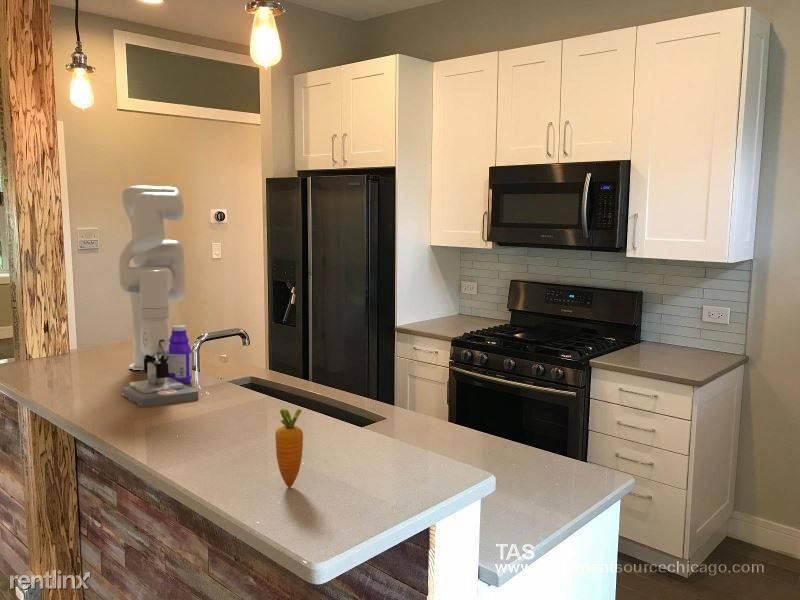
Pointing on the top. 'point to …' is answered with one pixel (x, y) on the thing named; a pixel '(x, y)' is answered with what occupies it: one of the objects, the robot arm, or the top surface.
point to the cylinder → (153, 374)
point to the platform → (155, 386)
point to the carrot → (289, 447)
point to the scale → (160, 396)
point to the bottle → (179, 355)
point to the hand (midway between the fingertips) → (156, 374)
